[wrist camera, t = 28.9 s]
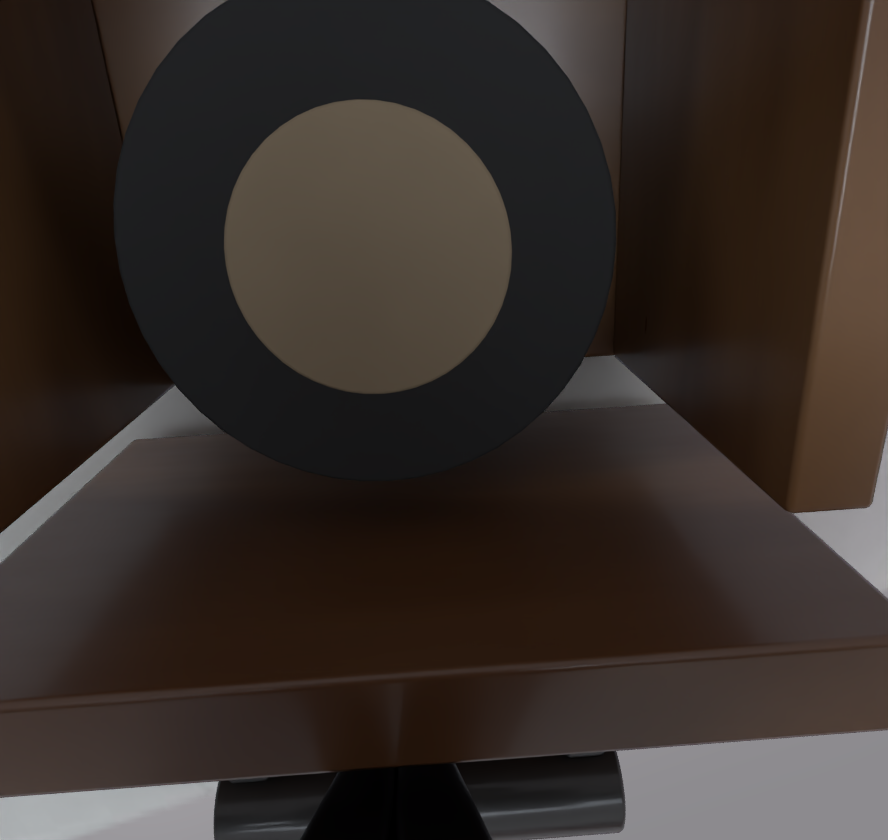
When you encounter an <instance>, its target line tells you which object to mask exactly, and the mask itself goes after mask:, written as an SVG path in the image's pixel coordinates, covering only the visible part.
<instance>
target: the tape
mask: <svg viewBox="0 0 888 840" xmlns="http://www.w3.org/2000/svg"><path fill="white" fill-rule="evenodd" d="M113 210H114V239H115V245H116V251H117V257H118V263H119V270H120V274H121V278H122V281H123V284H124V288H125V291H126V295H127V298H128V301H129V305H130V307H131V309H132V312H133V314H134V316H135V319H136V321H137V323H138V326H139V328H140V330H141V332H142V335H143V337H144V338H145V340H146V342H147V343H148V345H149V347H150V349H151V350H152V352H153V354H154V355H155V357H156V359H157V361H158V362H159V364H160V365H161V367H162V368H163V369H164V371H165V372H166V373H167V374H168V376H169V377H170V378H171V380H172V381H173V382H174V384H175V385H176V386H177V388H178V389H179V390H180V391H181V392H182V393H183V394H184V395H185V396H186V397H187V398H188V400H189V401H190V402H191V403H192V404H193V405H194V406H195V407H196V408H197V409H198V410H199V411H200V412H201V413H202V414H204V415H205V416H206V417H207V418H208V419H210V420H211V421H212V422H213V423H214V424H216V425H217V426H218V427H219V428H220V429H222V430H223V431H224V432H226V433H227V434H229V435H230V436H232V437H233V438H235V439H236V440H238V441H239V442H241V443H243V444H244V445H246V446H247V447H249V448H250V449H252V450H254V451H256V452H258V453H260V454H262V455H265V456H267V457H269V458H271V459H273V460H275V461H277V462H279V463H282V464H285V465H288V466H291V467H293V468H296V469H299V470H302V471H305V472H309V473H313V474H317V475H322V476H326V477H330V478H337V479H346V480H354V481H395V480H403V479H412V478H419V477H423V476H427V475H431V474H435V473H439V472H443V471H447V470H449V469H452V468H455V467H457V466H460V465H463V464H465V463H468V462H471V461H473V460H475V459H477V458H479V457H481V456H483V455H485V454H486V453H488V452H490V451H492V450H494V449H496V448H498V447H499V446H501V445H502V444H504V443H505V442H507V441H508V440H510V439H511V438H512V437H514V436H515V435H517V434H518V433H520V432H521V431H522V430H524V429H525V428H526V427H527V426H528V425H529V424H530V423H531V422H533V421H534V420H535V419H536V418H537V417H538V416H539V415H541V414H542V413H543V412H544V411H545V410H546V409H547V407H548V406H549V405H550V404H551V403H552V402H553V401H554V400H555V398H556V397H557V396H558V395H559V394H560V393H561V392H562V390H563V389H564V388H565V386H566V385H567V383H568V382H569V381H570V379H571V378H572V376H573V375H574V373H575V372H576V370H577V369H578V367H579V366H580V365H581V363H582V361H583V359H584V357H585V355H586V353H587V351H588V349H589V347H590V345H591V343H592V341H593V339H594V338H595V335H596V332H597V330H598V327H599V324H600V321H601V319H602V316H603V313H604V311H605V308H606V304H607V300H608V295H609V291H610V287H611V283H612V278H613V271H614V262H615V252H616V209H615V202H614V195H613V188H612V181H611V175H610V172H609V168H608V165H607V161H606V157H605V154H604V150H603V147H602V143H601V140H600V138H599V136H598V133H597V131H596V129H595V126H594V124H593V122H592V119H591V117H590V115H589V112H588V110H587V108H586V106H585V105H584V103H583V101H582V100H581V98H580V96H579V95H578V93H577V91H576V90H575V88H574V86H573V84H572V83H571V81H570V79H569V78H568V76H567V75H566V74H565V73H564V71H563V70H562V69H561V68H560V66H559V65H558V64H557V63H556V61H555V60H554V59H553V57H552V56H551V55H550V54H549V52H548V51H547V50H546V49H545V48H544V47H543V46H542V45H541V44H540V43H539V42H538V41H537V40H536V39H535V38H534V37H533V36H532V35H531V34H530V33H529V32H528V31H527V30H526V29H524V28H523V27H522V26H521V25H520V24H519V23H518V22H517V21H515V20H514V19H513V18H511V17H510V16H508V15H507V14H506V13H504V12H503V11H501V10H500V9H499V8H497V7H496V6H494V5H493V4H492V3H490V2H489V1H487V0H227V1H225V2H224V3H222V4H221V5H219V6H218V7H216V8H215V9H214V10H212V11H211V12H209V13H208V14H206V15H205V16H204V17H203V18H202V19H201V20H200V21H199V22H197V23H196V24H195V25H194V26H193V27H192V28H191V29H190V30H189V31H188V32H187V33H186V34H185V35H184V36H183V37H181V38H180V39H179V40H178V42H177V43H176V44H175V45H174V47H173V48H172V49H171V51H170V52H169V53H168V54H167V56H166V57H165V58H164V59H163V61H162V62H161V63H160V65H159V66H158V67H157V68H156V70H155V72H154V73H153V75H152V77H151V79H150V80H149V82H148V84H147V86H146V87H145V89H144V91H143V93H142V94H141V96H140V98H139V100H138V102H137V105H136V107H135V110H134V112H133V115H132V117H131V120H130V122H129V125H128V128H127V130H126V133H125V136H124V140H123V145H122V149H121V153H120V157H119V161H118V166H117V172H116V182H115V192H114V202H113Z"/></svg>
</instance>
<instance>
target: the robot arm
mask: <svg viewBox="0 0 888 840" xmlns="http://www.w3.org/2000/svg"><path fill="white" fill-rule="evenodd" d="M300 840H492V838H491V836H490V834H489V832H488V830H487V828H486V826H485V824H484V821H483V819H482V817H481V815H480V813H479V811H478V809H477V807H476V805H475V803H474V801H473V799H472V797H471V795H470V793H469V791H468V789H467V787H466V785H465V783H464V781H463V779H462V777H461V774H460V772H459V770H458V768H457V766H456V764H455V763H449V764H435V765H422V766H409V767H396V768H383V769H370V770H357V771H343V772H338V773H337V775H336V777H335V778H334V780H333V782H332V784H331V785H330V787H329V789H328V791H327V792H326V794H325V796H324V798H323V799H322V801H321V803H320V805H319V806H318V808H317V810H316V812H315V813H314V815H313V817H312V819H311V820H310V822H309V824H308V826H307V827H306V829H305V831H304V833H303V834H302V836H301V838H300Z"/></svg>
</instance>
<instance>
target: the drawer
mask: <svg viewBox="0 0 888 840" xmlns="http://www.w3.org/2000/svg"><path fill="white" fill-rule="evenodd" d="M225 1H227V0H0V533H1V532H2V531H4V530H5V529H6V528H7V527H8V526H10V525H11V524H12V523H13V522H14V521H15V520H17V519H18V518H19V517H20V516H21V515H22V514H24V513H25V512H26V511H27V510H28V509H30V508H31V507H32V506H33V505H34V504H35V503H37V502H38V501H39V500H40V499H41V498H42V497H44V496H45V495H46V494H47V493H48V492H50V491H51V490H52V489H53V488H54V487H55V486H57V485H58V484H59V483H60V482H61V481H62V480H64V479H65V478H66V477H67V476H68V475H70V474H71V473H72V472H73V471H74V470H75V469H77V468H78V467H79V466H80V465H81V464H82V463H84V462H85V461H86V460H87V459H88V458H90V457H91V456H92V455H93V454H94V453H95V452H97V451H98V450H99V449H100V448H101V447H102V446H104V445H105V444H106V443H107V442H108V441H110V440H111V439H112V438H113V437H114V436H115V435H117V434H118V433H119V432H120V431H121V430H123V429H124V428H125V427H126V426H127V425H128V424H130V423H131V422H132V421H133V420H134V419H135V418H137V417H138V416H139V415H140V414H141V413H143V412H144V411H145V410H146V409H147V408H148V407H150V406H151V405H152V404H153V403H154V402H155V401H157V400H158V399H159V398H160V397H161V396H163V395H164V394H165V393H166V392H167V391H168V390H170V389H171V388H172V387H173V386H174V385H175V384H174V382H173V381H172V380H171V378H170V377H169V376H168V374H167V373H166V372H165V371H164V369H163V368H162V367H161V365H160V364H159V362H158V361H157V359H156V357H155V355H154V354H153V352H152V350H151V349H150V347H149V345H148V343H147V342H146V340H145V338H144V337H143V335H142V332H141V330H140V328H139V326H138V323H137V321H136V319H135V316H134V314H133V312H132V309H131V307H130V305H129V301H128V298H127V295H126V291H125V288H124V284H123V281H122V278H121V274H120V270H119V263H118V257H117V251H116V245H115V239H114V210H113V202H114V192H115V182H116V172H117V166H118V161H119V157H120V153H121V149H122V145H123V140H124V136H125V133H126V130H127V128H128V125H129V122H130V120H131V117H132V115H133V112H134V110H135V107H136V105H137V102H138V100H139V98H140V96H141V94H142V93H143V91H144V89H145V87H146V86H147V84H148V82H149V80H150V79H151V77H152V75H153V73H154V72H155V70H156V68H157V67H158V66H159V65H160V63H161V62H162V61H163V59H164V58H165V57H166V56H167V54H168V53H169V52H170V51H171V49H172V48H173V47H174V45H175V44H176V43H177V42H178V40H179V39H180V38H181V37H183V36H184V35H185V34H186V33H187V32H188V31H189V30H190V29H191V28H192V27H193V26H194V25H195V24H196V23H197V22H199V21H200V20H201V19H202V18H203V17H204V16H205V15H206V14H208V13H209V12H211V11H212V10H214V9H215V8H216V7H218V6H219V5H221V4H222V3H224V2H225ZM487 1H489V2H490V3H492V4H493V5H494V6H496V7H497V8H499V9H500V10H501V11H503V12H504V13H506V14H507V15H508V16H510V17H511V18H513V19H514V20H515V21H517V22H518V23H519V24H520V25H521V26H522V27H523V28H524V29H526V30H527V31H528V32H529V33H530V34H531V35H532V36H533V37H534V38H535V39H536V40H537V41H538V42H539V43H540V44H541V45H542V46H543V47H544V48H545V49H546V50H547V51H548V52H549V54H550V55H551V56H552V57H553V59H554V60H555V61H556V63H557V64H558V65H559V66H560V68H561V69H562V70H563V71H564V73H565V74H566V75H567V76H568V78H569V79H570V81H571V83H572V84H573V86H574V88H575V90H576V91H577V93H578V95H579V96H580V98H581V100H582V101H583V103H584V105H585V106H586V108H587V110H588V112H589V115H590V117H591V119H592V122H593V124H594V126H595V129H596V131H597V133H598V136H599V138H600V140H601V143H602V147H603V150H604V154H605V157H606V161H607V165H608V168H609V172H610V175H611V181H612V188H613V195H614V202H615V209H616V252H615V262H614V271H613V278H612V283H611V287H610V291H609V295H608V300H607V304H606V308H605V311H604V313H603V316H602V319H601V321H600V324H599V327H598V330H597V332H596V335H595V338H594V339H593V341H592V343H591V345H590V347H589V349H588V351H587V353H586V355H585V357H596V356H611V355H614V356H615V357H616V358H617V359H618V360H619V361H620V362H621V363H622V364H624V365H625V366H626V367H627V368H628V369H629V370H630V371H631V372H632V373H634V374H635V375H636V376H637V377H638V378H639V379H640V380H641V381H642V382H643V383H645V384H646V385H647V386H648V387H649V388H650V389H651V390H652V391H653V392H655V393H656V394H657V395H658V396H659V397H660V398H661V399H662V400H663V401H664V402H666V403H667V404H654V405H639V406H625V407H610V408H595V409H580V410H566V411H551V412H543V413H542V414H541V415H539V416H538V417H537V418H536V419H535V420H534V421H533V422H531V423H530V424H529V425H528V426H527V427H526V428H525V429H524V430H522V431H521V432H520V433H518V434H517V435H515V436H514V437H512V438H511V439H510V440H508V441H507V442H505V443H504V444H502V445H501V446H499V447H498V448H496V449H494V450H492V451H490V452H488V453H486V454H485V455H483V456H481V457H479V458H477V459H475V460H473V461H471V462H468V463H465V464H463V465H460V466H457V467H455V468H452V469H449V470H447V471H443V472H439V473H435V474H431V475H427V476H423V477H419V478H412V479H403V480H395V481H354V480H346V479H337V478H330V477H326V476H322V475H317V474H313V473H309V472H305V471H302V470H299V469H296V468H293V467H291V466H288V465H285V464H282V463H279V462H277V461H275V460H273V459H271V458H269V457H267V456H265V455H262V454H260V453H258V452H256V451H254V450H252V449H250V448H249V447H247V446H246V445H244V444H243V443H241V442H239V441H238V440H236V439H235V438H233V437H232V436H230V435H229V434H227V433H226V434H212V435H197V436H182V437H167V438H153V439H138V440H134V441H133V442H132V443H130V444H129V445H128V446H127V447H126V448H125V449H124V450H123V451H122V452H121V453H120V454H118V455H117V456H116V457H115V458H114V459H113V460H112V461H111V462H110V463H109V464H108V465H107V466H105V467H104V468H103V469H102V470H101V471H100V472H99V473H98V474H97V475H96V476H95V477H94V478H92V479H91V480H90V481H89V482H88V483H87V484H86V485H85V486H84V487H83V488H82V489H81V490H79V491H78V492H77V493H76V494H75V495H74V496H73V497H72V498H71V499H70V500H69V501H68V502H66V503H65V504H64V505H63V506H62V507H61V508H60V509H59V510H58V511H57V512H56V513H54V514H53V515H52V516H51V517H50V518H49V519H48V520H47V521H46V522H45V523H44V524H43V525H41V526H40V527H39V528H38V529H37V530H36V531H35V532H34V533H33V534H32V535H31V536H30V537H28V538H27V539H26V540H25V541H24V542H23V543H22V544H21V545H20V546H19V547H18V548H17V549H15V550H14V551H13V552H12V553H11V554H10V555H9V556H8V557H7V558H6V559H5V560H3V561H2V562H1V563H0V798H2V797H15V796H28V795H41V794H55V793H68V792H81V791H94V790H107V789H120V788H133V787H146V786H160V785H173V784H186V783H199V782H212V781H219V782H218V787H217V792H216V799H215V808H214V839H215V840H300V838H301V836H302V834H303V833H304V831H305V829H306V827H307V826H308V824H309V822H310V820H311V819H312V817H313V815H314V813H315V812H316V810H317V808H318V806H319V805H320V803H321V801H322V799H323V798H324V796H325V794H326V792H327V791H328V789H329V787H330V785H331V784H332V782H333V780H334V778H335V777H336V775H337V773H338V772H343V771H357V770H370V769H383V768H396V767H409V766H422V765H435V764H449V763H455V764H456V766H457V768H458V770H459V772H460V774H461V777H462V779H463V781H464V783H465V785H466V787H467V789H468V791H469V793H470V795H471V797H472V799H473V801H474V803H475V805H476V807H477V809H478V811H479V813H480V815H481V817H482V819H483V821H484V824H485V826H486V828H487V830H488V832H489V834H490V836H491V838H492V840H530V839H544V838H556V837H570V836H582V835H594V834H607V833H619V832H621V831H622V830H623V828H624V824H625V795H624V787H623V780H622V774H621V769H620V765H619V760H618V756H617V752H616V751H619V750H632V749H644V748H645V749H646V748H659V747H672V746H685V745H698V744H711V743H724V742H737V741H750V740H762V739H777V738H790V737H801V736H802V737H803V736H815V735H829V734H843V733H856V732H867V731H882V730H888V598H886V597H885V596H884V595H883V594H882V593H881V592H880V591H879V590H878V589H876V588H875V587H874V586H873V585H872V584H871V583H870V582H869V581H867V580H866V579H865V578H864V577H863V576H862V575H861V574H860V573H859V572H857V571H856V570H855V569H854V568H853V567H852V566H851V565H850V564H848V563H847V562H846V561H845V560H844V559H843V558H842V557H841V556H839V555H838V554H837V553H836V552H835V551H834V550H833V549H832V548H831V547H829V546H828V545H827V544H826V543H825V542H824V541H823V540H822V539H820V538H819V537H818V536H817V535H816V534H815V533H814V532H813V531H812V530H810V529H809V528H808V527H807V526H806V525H805V524H804V523H803V522H801V521H800V520H799V519H798V518H797V517H796V516H795V515H794V514H793V513H801V512H815V511H829V510H844V509H858V508H867V507H869V506H870V505H871V504H872V502H873V497H874V492H875V487H876V482H877V477H878V473H879V468H880V463H881V458H882V453H883V448H884V443H885V438H886V434H887V429H888V0H487Z"/></svg>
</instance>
